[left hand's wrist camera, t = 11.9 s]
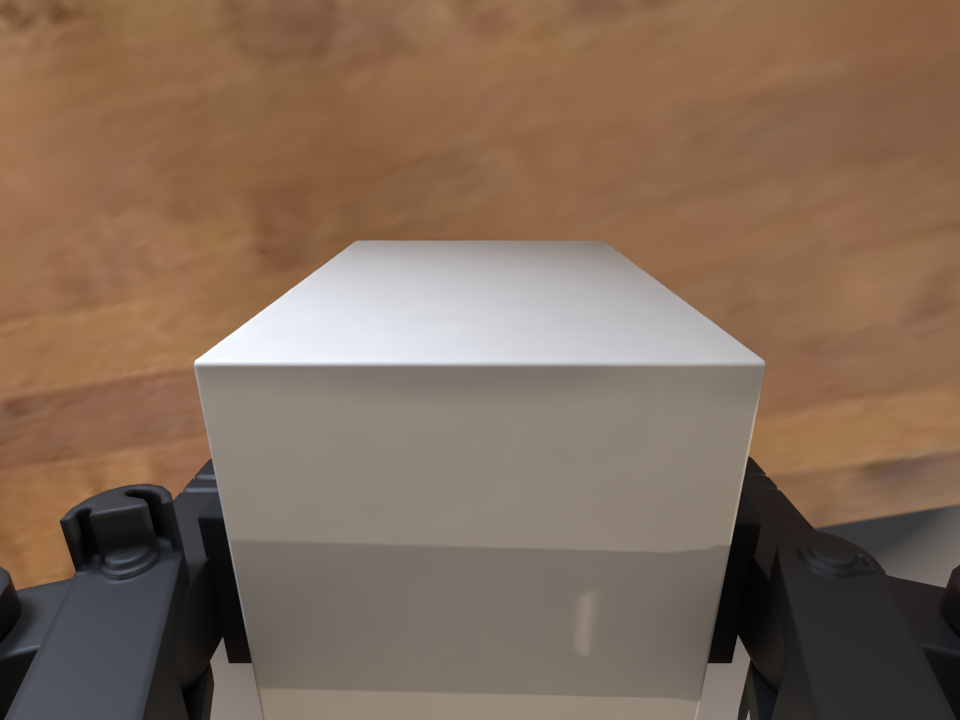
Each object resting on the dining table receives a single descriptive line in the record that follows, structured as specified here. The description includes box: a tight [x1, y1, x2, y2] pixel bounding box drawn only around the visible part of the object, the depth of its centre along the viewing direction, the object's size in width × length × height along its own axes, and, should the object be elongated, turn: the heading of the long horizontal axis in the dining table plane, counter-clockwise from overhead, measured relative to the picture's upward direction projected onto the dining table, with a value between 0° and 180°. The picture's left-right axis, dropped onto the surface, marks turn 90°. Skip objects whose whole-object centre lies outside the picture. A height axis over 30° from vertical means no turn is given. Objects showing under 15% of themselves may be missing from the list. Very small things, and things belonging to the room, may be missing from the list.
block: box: [194, 241, 766, 720], centre depth 11 cm, size 8×6×8 cm
